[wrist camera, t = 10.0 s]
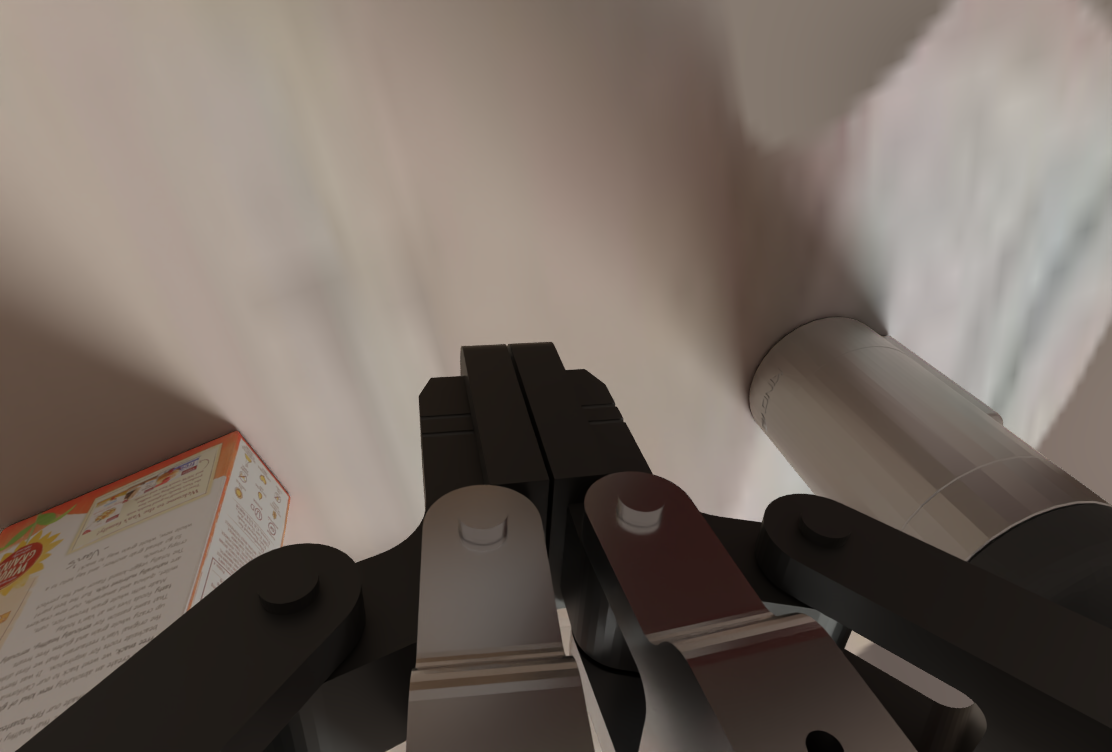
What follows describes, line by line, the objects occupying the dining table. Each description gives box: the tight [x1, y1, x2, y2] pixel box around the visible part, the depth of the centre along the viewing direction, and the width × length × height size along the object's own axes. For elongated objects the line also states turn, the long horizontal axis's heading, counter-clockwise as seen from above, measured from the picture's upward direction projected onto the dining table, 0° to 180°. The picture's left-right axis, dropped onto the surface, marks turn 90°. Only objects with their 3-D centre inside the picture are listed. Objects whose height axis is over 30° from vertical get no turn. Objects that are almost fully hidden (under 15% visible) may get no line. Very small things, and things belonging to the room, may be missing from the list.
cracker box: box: [0, 431, 290, 752], centre depth 29 cm, size 14×6×21 cm, turn 109°
